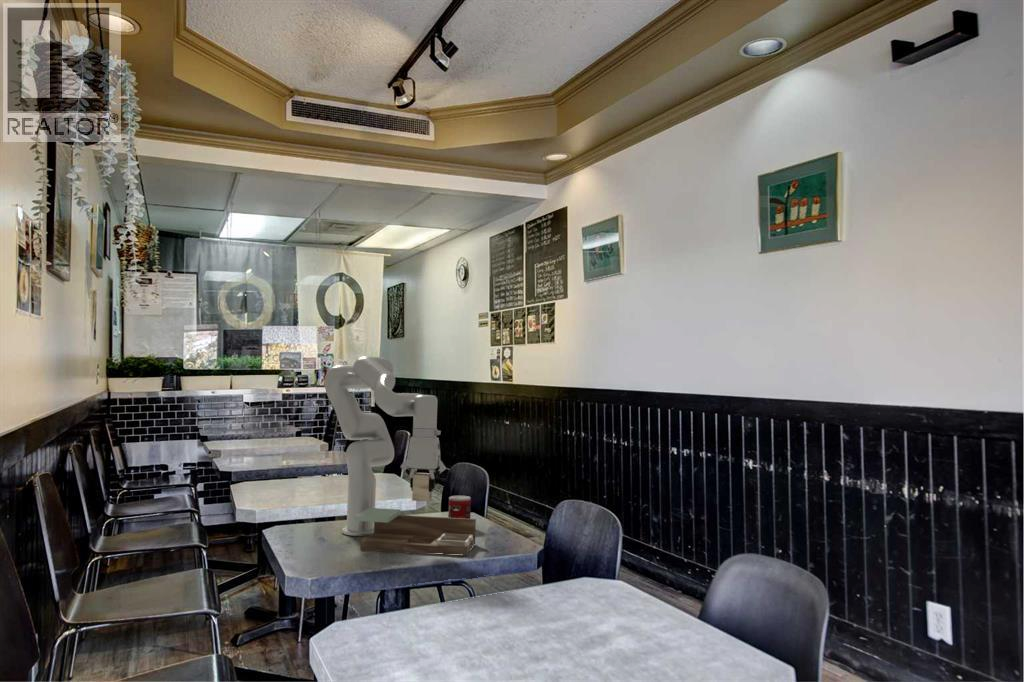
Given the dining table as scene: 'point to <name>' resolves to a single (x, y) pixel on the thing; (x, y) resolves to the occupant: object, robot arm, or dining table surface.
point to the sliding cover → (377, 515)
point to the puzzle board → (422, 535)
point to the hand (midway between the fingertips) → (422, 490)
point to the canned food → (459, 507)
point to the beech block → (421, 487)
